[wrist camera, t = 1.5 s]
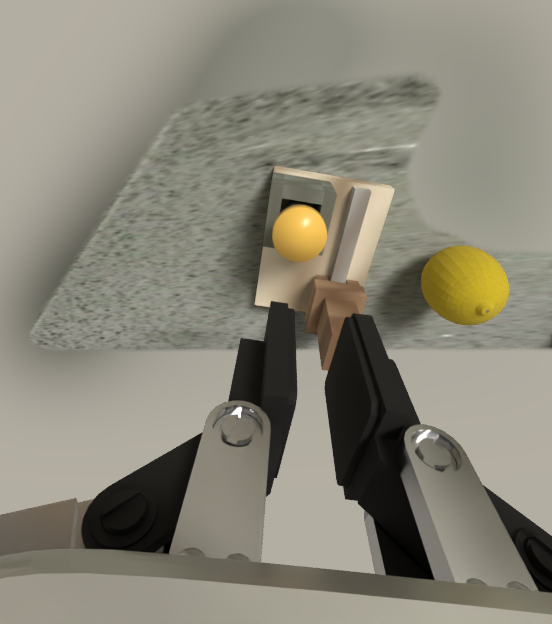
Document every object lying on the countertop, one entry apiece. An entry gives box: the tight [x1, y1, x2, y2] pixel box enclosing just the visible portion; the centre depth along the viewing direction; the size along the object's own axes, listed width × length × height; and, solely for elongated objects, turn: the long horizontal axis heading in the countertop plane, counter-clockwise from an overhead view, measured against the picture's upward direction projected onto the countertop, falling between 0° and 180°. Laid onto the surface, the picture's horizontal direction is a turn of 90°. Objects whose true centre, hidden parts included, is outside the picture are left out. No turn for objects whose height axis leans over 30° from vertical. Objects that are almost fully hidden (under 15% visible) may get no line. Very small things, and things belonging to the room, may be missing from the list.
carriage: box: [305, 275, 367, 370], centre depth 26 cm, size 4×4×8 cm
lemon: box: [421, 246, 509, 325], centre depth 26 cm, size 6×6×8 cm
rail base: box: [255, 166, 395, 312], centre depth 27 cm, size 9×12×6 cm
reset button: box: [272, 200, 327, 262], centre depth 22 cm, size 3×3×5 cm
